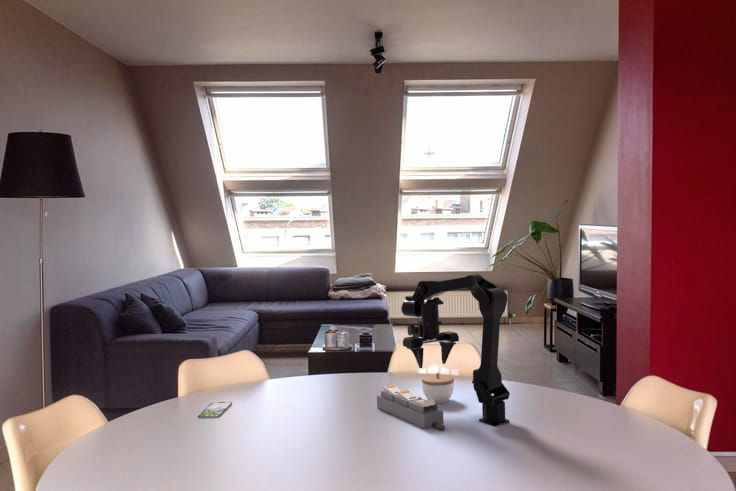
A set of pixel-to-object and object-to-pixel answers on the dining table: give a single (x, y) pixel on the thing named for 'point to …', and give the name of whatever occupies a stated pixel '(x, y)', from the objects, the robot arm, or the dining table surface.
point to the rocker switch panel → (411, 411)
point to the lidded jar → (438, 387)
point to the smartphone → (215, 410)
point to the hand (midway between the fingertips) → (432, 365)
